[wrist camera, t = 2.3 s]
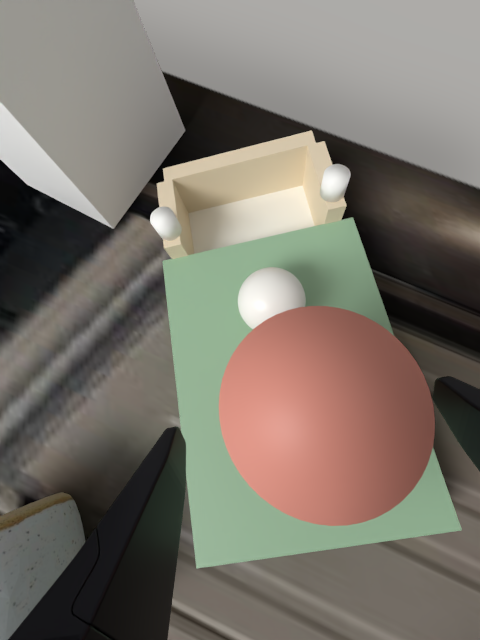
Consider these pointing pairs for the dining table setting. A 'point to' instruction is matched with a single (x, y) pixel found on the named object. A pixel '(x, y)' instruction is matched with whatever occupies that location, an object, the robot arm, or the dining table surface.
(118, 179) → the milk
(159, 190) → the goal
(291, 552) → the pitch
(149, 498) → the robot arm
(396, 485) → the salmon pink cylinder
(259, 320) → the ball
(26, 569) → the ceramic mug
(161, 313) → the dining table surface
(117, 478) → the dining table surface
